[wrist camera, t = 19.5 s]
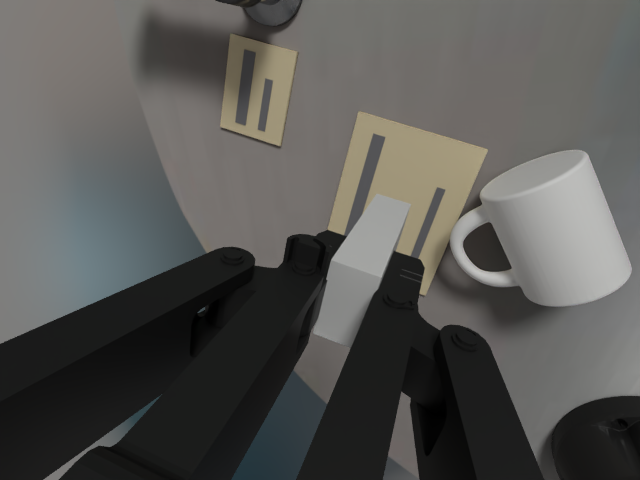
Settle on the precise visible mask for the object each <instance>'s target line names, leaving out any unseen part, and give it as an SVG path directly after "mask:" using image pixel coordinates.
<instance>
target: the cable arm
mask: <svg viewBox="0 0 640 480" xmlns="http://www.w3.org/2000/svg"><path fill="white" fill-rule="evenodd" d="M216 1H218V2H222V3H227V4H231V5H235V6H240V7H244V8H249V7H253V6H255V5H257V4H258V3H259V2H261V0H216Z"/></svg>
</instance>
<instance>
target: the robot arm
mask: <svg viewBox="0 0 640 480" xmlns="http://www.w3.org/2000/svg"><path fill="white" fill-rule="evenodd" d="M410 206H411V204H409V203H406V202H403V201H399V200H396V199H393V198H390V197H386V196H383V195H380V194H376V196H375V197H374V198H373V200H372V201H371V203H370V204H369V206H368V207H367V209H366V210H365V211H364V213H363V214H362V216H361V217H360V219H359V220H358V222H357V223H356V224H355V226H354V227H353V229H352V230H351V232H350V233H349V235H348V236H345V235H342V234H339V233H336V232H333V231H330V230H327V231H324V232H321V233H318V234H317V236H311V235H307V234H297V235H292V236H290V237H288V238H287V243H286V248H285V254H284V259H283V262H282V264H281V265H280V266H279V267H278V268H267V267H260V266H254V265H255V258H254V256H253V255H252V254H251V253H250V252H248V251H246V250H244V249H241V248H236V247H223V248H219V249H216V250H214V251H211V252H209V253H207V254H204V255H202V256H200V257H198V258H195V259H193V260H191V261H189V262H186V263H184V264H182V265H179V266H177V267H175V268H172V269H170V270H168V271H166V272H163V273H161V274H159V275H156V276H154V277H152V278H150V279H147V280H145V281H143V282H141V283H138V284H136V285H134V286H131V287H129V288H127V289H125V290H122V291H120V292H118V293H115V294H113V295H111V296H109V297H106V298H104V299H102V300H100V301H97V302H95V303H93V304H90V305H88V306H86V307H84V308H81V309H79V310H77V311H74V312H72V313H70V314H68V315H65V316H63V317H61V318H58V319H56V320H54V321H52V322H49V323H47V324H45V325H42V326H40V327H38V328H36V329H33V330H31V331H29V332H27V333H24V334H22V335H20V336H17V337H15V338H13V339H10V340H8V341H6V342H4V343H1V344H0V480H43V479H45V478H46V477H47V476H49V475H50V474H52V473H53V472H54V471H56V470H57V469H59V468H60V467H61V466H62V465H64V464H66V463H67V462H68V461H70V460H71V459H72V458H74V457H75V456H77V455H78V454H79V453H81V452H82V451H84V450H85V449H86V448H88V447H89V446H91V445H92V444H93V443H95V442H96V441H97V440H99V439H100V438H102V437H103V436H104V435H106V434H107V433H109V432H110V431H111V430H113V429H114V428H115V427H117V426H118V425H120V424H121V423H122V422H124V421H125V420H127V419H128V418H129V417H131V416H132V415H133V414H135V413H136V412H138V411H139V410H140V409H142V408H143V407H145V406H146V405H147V404H149V403H150V402H151V401H153V400H154V399H156V398H157V397H159V396H160V395H161V394H162V395H161V396H160V397H159V399H158V400H157V401H156V402H155V403H154V404H153V405H152V406H151V407H150V408H149V410H148V411H147V412H146V413H145V414H144V415H143V416H142V417H141V418H140V419H139V421H138V422H137V423H136V424H135V425H134V426H133V427H132V428H131V429H130V430H129V431H128V433H127V434H126V435H125V436H124V437H123V438H122V439H121V440H120V441H119V442H118V443H117V444H115V445H114V446H112V447H104V446H98V447H96V448H94V449H92V450H90V451H88V452H87V453H86V454H85V455H83V456H82V457H81V458H80V459H79V460H78V461H77V462H75V463H74V465H73V466H72V467H71V468H70V469H69V470H68V471H67V472H66V473H65V474H64V475H63V476H62V477H61V478H60V479H59V480H231V479H232V477H233V475H234V473H235V471H236V470H237V468H238V466H239V464H240V463H241V461H242V459H243V457H244V456H245V454H246V452H247V450H248V448H249V447H250V445H251V443H252V441H253V440H254V438H255V436H256V434H257V432H258V431H259V429H260V427H261V425H262V424H263V422H264V420H265V418H266V417H267V415H268V413H269V411H270V410H271V408H272V406H273V404H274V402H275V401H276V399H277V397H278V395H279V394H280V391H281V390H282V388H283V386H284V385H285V383H286V381H287V379H288V378H289V376H290V374H291V372H292V371H293V369H294V367H295V365H296V363H297V362H298V360H299V358H300V356H301V355H302V353H303V351H304V349H305V347H306V346H307V344H308V340H309V336H310V332H311V330H312V328H313V326H314V325H315V328H314V332H313V334H316V335H319V336H321V337H324V338H326V339H329V340H331V341H334V342H337V343H339V344H342V345H344V346H347V347H349V348H351V349H350V352H349V354H348V356H347V359H346V361H345V364H344V366H343V368H342V371H341V373H340V376H339V378H338V380H337V383H336V385H335V388H334V390H333V392H332V395H331V397H330V400H329V402H328V404H327V407H326V410H325V412H324V414H323V417H322V419H321V421H320V424H319V426H318V428H317V431H316V433H315V436H314V438H313V440H312V443H311V445H310V448H309V450H308V452H307V455H306V457H305V460H304V462H303V465H302V467H301V469H300V472H299V474H298V476H297V479H296V480H383V475H384V470H385V466H386V461H387V457H388V452H389V447H390V442H391V438H392V433H393V428H394V423H395V419H396V414H397V409H398V404H399V400H400V395H401V391H402V392H403V393H405V394H406V395H407V396H409V397H410V398H411V402H410V409H411V417H412V424H413V432H414V440H415V448H416V455H417V463H418V471H419V479H420V480H544V478H543V476H542V474H541V471H540V469H539V466H538V464H537V461H536V459H535V456H534V454H533V451H532V449H531V447H530V444H529V442H528V439H527V437H526V434H525V432H524V429H523V427H522V425H521V422H520V420H519V417H518V415H517V412H516V410H515V407H514V405H513V402H512V400H511V398H510V395H509V393H508V390H507V388H506V385H505V383H504V380H503V378H502V376H501V373H500V371H499V368H498V366H497V363H496V361H495V358H494V356H493V354H492V351H491V349H490V346H489V345H488V343H487V342H486V340H485V339H484V338H482V337H481V336H480V335H479V334H478V333H476V332H475V331H472V330H471V329H469V328H466V327H463V326H460V325H447V326H444V327H443V328H442V329H441V330H438V329H437V328H435V327H433V326H432V325H430V324H429V323H427V322H426V321H425V320H424V319H423V318H422V317H421V315H420V314H419V312H418V304H417V302H418V298H419V293H420V289H421V284H422V279H423V275H424V270H425V267H424V265H423V263H422V261H421V260H420V259H417V258H414V257H411V256H408V255H405V254H402V253H399V252H396V249H397V246H398V243H399V240H400V237H401V234H402V231H403V228H404V225H405V222H406V218H407V215H408V212H409V209H410ZM203 307H205V310H204V311H202V312H200V313H197V312H198V311H200V309H202V308H203ZM315 323H316V324H315ZM552 453H553V458H554V462H555V467H556V470H557V473H558V475H559V478H560V480H640V396H618V397H610V398H604V399H600V400H596V401H592V402H590V403H587V404H584V405H582V406H580V407H578V408H576V409H575V410H573V411H572V412H570V413H569V414H567V415H566V416H565V417H564V418H563V419H562V420H561V421H560V423H559V424H558V425H557V427H556V429H555V431H554V433H553V437H552Z"/></svg>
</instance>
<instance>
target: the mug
mask: <svg viewBox="0 0 640 480" xmlns="http://www.w3.org/2000/svg"><path fill="white" fill-rule="evenodd" d="M480 199H481V202H482V205H481V206H479V207H477V208H475V209H473V210H471V211H470V212H468V213H466V214H465V215H464V216H462V217H461V218H460V219H459V220H458V221H457V222H456V224H455V225H454V227H453V229H452V231H451V234H450V247H451V251H452V254H453V256H454V258H455V260H456V261H457V263H458V264H459V266H460V267H461V268H462V269H463V270H464V271H465V272H466V273H467V274H468V275H469V276H471V277H472V278H474V279H475V280H477V281H479V282H481V283H483V284H486V285H489V286H494V287H513V286H520V287H521V288H522V291H523V293H524V295H525V296H526V297H527V298H528V299H529V300H530V301H532V302H534V303H536V304H539V305H543V306H550V307H567V306H575V305H581V304H585V303H589V302H592V301H595V300H598V299H601V298H603V297H605V296H607V295H609V294H611V293H613V292H614V291H616V290H617V289H619V288H620V287H621V286H622V285H623V284H625V282H626V281H627V280H628V279H629V277H630V275H631V271H632V267H631V264H630V261H629V258H628V256H627V253H626V251H625V248H624V246H623V243H622V240H621V238H620V235H619V233H618V230H617V228H616V225H615V222H614V220H613V217H612V215H611V212H610V210H609V207H608V205H607V202H606V199H605V197H604V194H603V192H602V189H601V187H600V184H599V181H598V179H597V176H596V174H595V171H594V169H593V166H592V163H591V161H590V158H589V156H588V154H587V153H586V152H584V151H581V150H567V151H561V152H556V153H552V154H548V155H545V156H542V157H539V158H536V159H533V160H530V161H528V162H525V163H523V164H521V165H518V166H516V167H514V168H512V169H510V170H508V171H506V172H504V173H502V174H501V175H499V176H497V177H496V178H494V179H493V180H492V181H490V182H489V183H488V184H487V185H486V186H485V187H484V188H483V189H482V190H481V192H480ZM487 222H490V223H491V224H492V226H493V228H494V230H495V232H496V234H497V236H498V239H499V241H500V243H501V245H502V247H503V249H504V252H505V254H506V256H507V258H508V260H509V262H510V265H511V267H512V268H511V269H510V270H506V271H500V272H488V271H484V270H481V269H479V268H477V267H476V266H475V265H474V264H473V263H472V262H471V261H470V260H469V258H468V257H467V255H466V253H465V251H464V248H463V242H464V239H465V238H466V237H467V235H468V234H469V233H470V232H472V231H473V230H474V229H476V228H477V227H479V226H481V225H483V224H485V223H487Z"/></svg>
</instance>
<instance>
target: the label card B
mask: <svg viewBox="0 0 640 480" xmlns="http://www.w3.org/2000/svg"><path fill="white" fill-rule="evenodd" d="M487 151H488V149H485V148H482V147H478V146H475V145H472V144H468V143H465V142H462V141H458V140H455V139H451V138H448V137H445V136H441V135H438V134H435V133H431V132H428V131H424V130H421V129H418V128H414V127H411V126H408V125H404V124H401V123H398V122H394V121H391V120H387V119H384V118H381V117H377V116H374V115H371V114H367V113H364V112H360V111H359V112H358V116H357V120H356V123H355V127H354V131H353V135H352V139H351V142H350V146H349V150H348V154H347V158H346V161H345V165H344V169H343V173H342V176H341V180H340V184H339V188H338V192H337V195H336V199H335V203H334V207H333V211H332V214H331V218H330V222H329V226H328V230H330V231H333V232H336V233H339V234H342V235H345V236H348V235H349V233H350V232H351V230H352V229H353V227H354V226H355V224H356V223H357V222H358V220H359V219H360V217H361V216H362V214H363V213H364V211H365V210H366V209H367V207H368V206H369V204H370V203H371V201H372V200H373V198H374V197H375V196H376V194H380V195H383V196H386V197H390V198H393V199H396V200H399V201H403V202H406V203H409V204H411V206H410V209H409V212H408V215H407V218H406V222H405V225H404V228H403V231H402V234H401V237H400V240H399V243H398V246H397V249H396V252H399V253H402V254H405V255H408V256H411V257H414V258H417V259H420V260H421V261H422V263H423V265H424V267H425V270H424V275H423V279H422V284H421V289H420V293H419V294H422V295H424V296H426V293H427V291H428V289H429V286H430V284H431V282H432V279H433V277H434V275H435V272H436V270H437V268H438V265H439V263H440V261H441V258H442V256H443V254H444V251H445V249H446V247H447V244H448V242H449V240H450V234H451V231H452V229H453V227H454V225H455V224H456V222H457V221H458V219H459V216H460V214H461V212H462V209H463V207H464V205H465V202H466V200H467V198H468V195H469V193H470V191H471V188H472V186H473V184H474V181H475V179H476V177H477V174H478V172H479V170H480V167H481V165H482V163H483V160H484V158H485V156H486V153H487Z"/></svg>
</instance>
